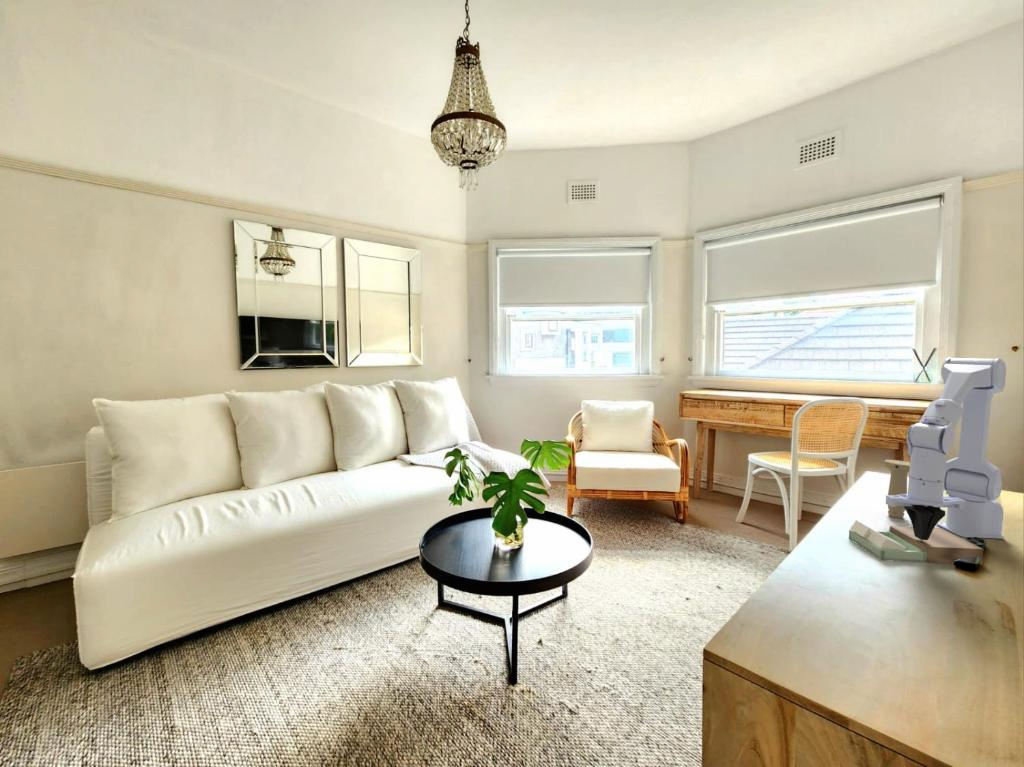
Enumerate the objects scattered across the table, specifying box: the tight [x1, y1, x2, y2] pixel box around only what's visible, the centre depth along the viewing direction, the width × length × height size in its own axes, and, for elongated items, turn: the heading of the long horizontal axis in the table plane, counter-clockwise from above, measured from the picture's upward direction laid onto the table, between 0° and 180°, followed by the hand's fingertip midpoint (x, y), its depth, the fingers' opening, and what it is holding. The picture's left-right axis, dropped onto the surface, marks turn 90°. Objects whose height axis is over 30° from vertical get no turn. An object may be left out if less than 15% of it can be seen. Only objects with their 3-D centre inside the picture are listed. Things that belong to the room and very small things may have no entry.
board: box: [889, 525, 984, 566], centre depth 102 cm, size 11×11×4 cm
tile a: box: [849, 520, 873, 539], centre depth 106 cm, size 4×4×2 cm
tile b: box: [867, 529, 906, 550], centre depth 101 cm, size 4×4×2 cm
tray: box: [848, 529, 927, 563], centre depth 103 cm, size 9×11×2 cm
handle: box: [883, 459, 910, 519], centre depth 122 cm, size 5×6×15 cm
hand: (921, 538), depth 100 cm, fingers closed
